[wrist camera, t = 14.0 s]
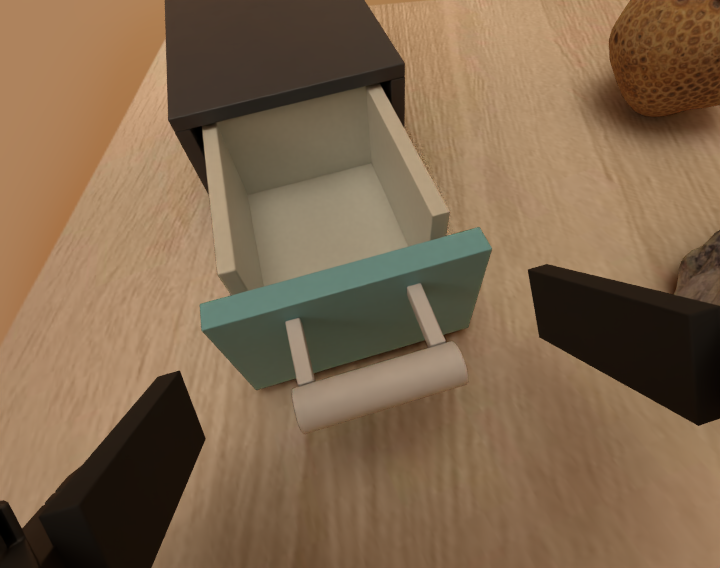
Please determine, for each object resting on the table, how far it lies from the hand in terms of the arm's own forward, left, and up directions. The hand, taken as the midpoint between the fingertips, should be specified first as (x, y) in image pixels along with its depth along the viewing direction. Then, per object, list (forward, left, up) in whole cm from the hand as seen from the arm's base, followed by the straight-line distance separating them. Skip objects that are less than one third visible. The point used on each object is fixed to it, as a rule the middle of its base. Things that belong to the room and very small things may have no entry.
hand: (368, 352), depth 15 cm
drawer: (0, +7, -6) cm, 9 cm away
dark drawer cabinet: (0, +22, -7) cm, 23 cm away
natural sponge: (+26, +16, -7) cm, 31 cm away
